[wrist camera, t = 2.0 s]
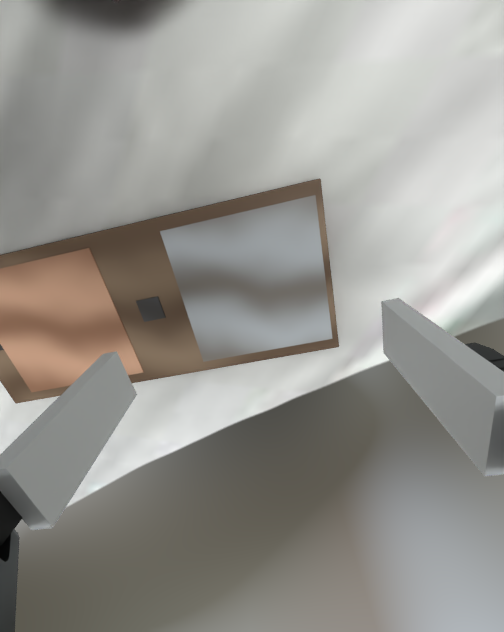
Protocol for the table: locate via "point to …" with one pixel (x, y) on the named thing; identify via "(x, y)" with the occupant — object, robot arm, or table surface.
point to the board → (171, 294)
